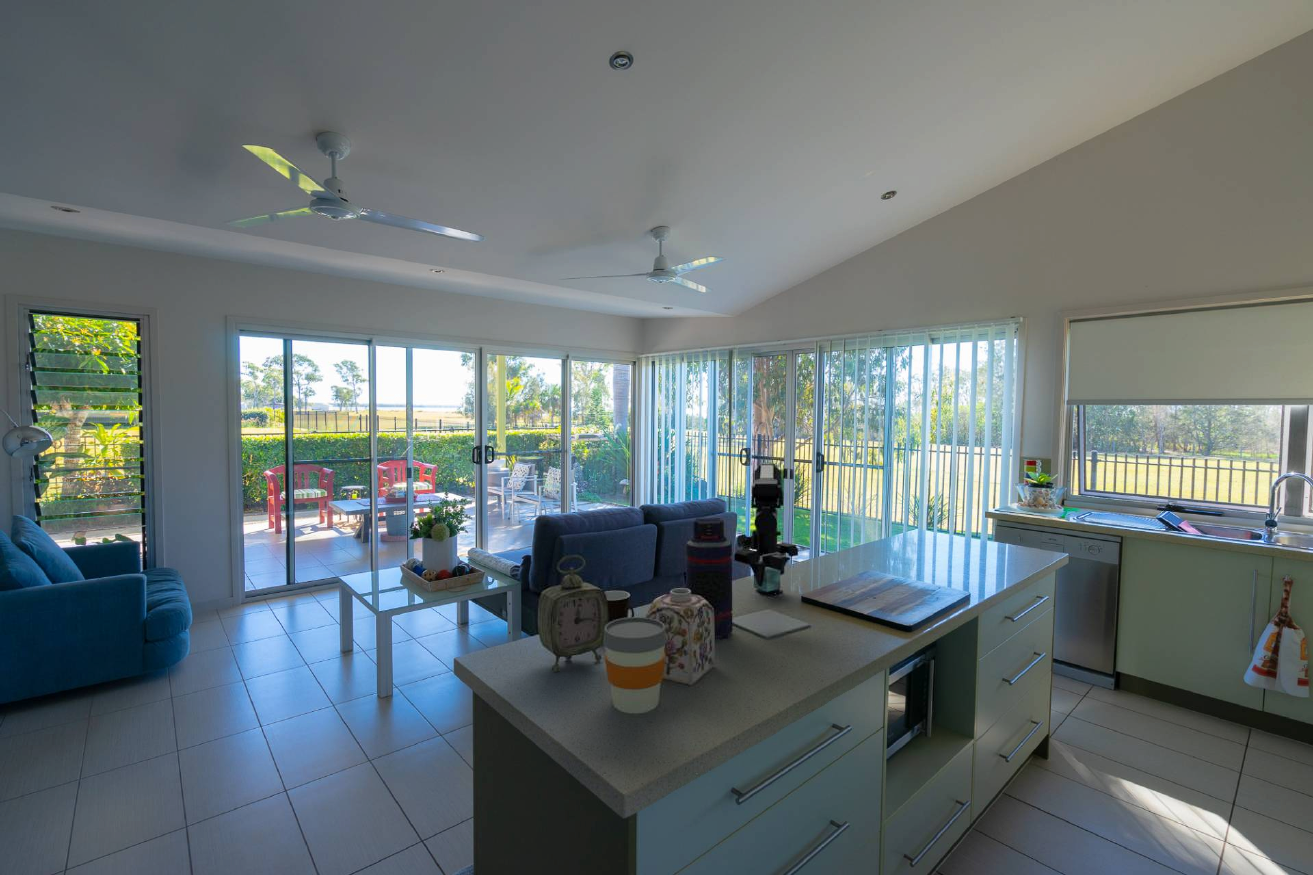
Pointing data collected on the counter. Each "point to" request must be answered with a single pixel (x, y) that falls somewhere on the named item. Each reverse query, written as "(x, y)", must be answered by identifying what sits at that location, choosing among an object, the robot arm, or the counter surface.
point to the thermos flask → (711, 570)
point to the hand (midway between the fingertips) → (767, 584)
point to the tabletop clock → (572, 616)
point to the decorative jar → (686, 634)
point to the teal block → (769, 580)
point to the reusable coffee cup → (635, 662)
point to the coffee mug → (618, 605)
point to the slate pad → (768, 623)
